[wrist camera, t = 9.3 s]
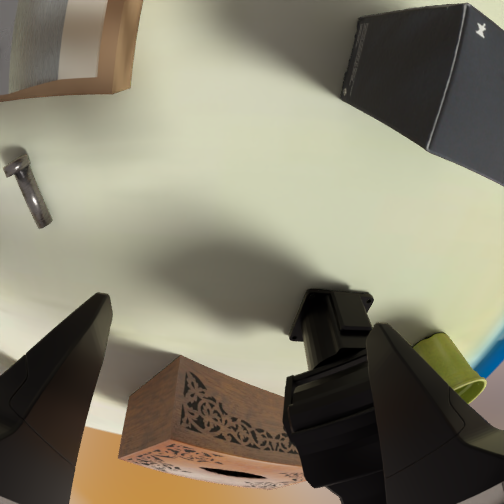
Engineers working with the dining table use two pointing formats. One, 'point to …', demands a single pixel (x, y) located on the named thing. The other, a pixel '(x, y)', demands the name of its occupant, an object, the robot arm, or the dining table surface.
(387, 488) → the robot arm
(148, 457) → the tissue box cover
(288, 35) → the dining table surface
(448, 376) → the plant pot
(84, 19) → the picture frame
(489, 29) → the small box
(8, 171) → the loose bolt
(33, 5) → the housing
